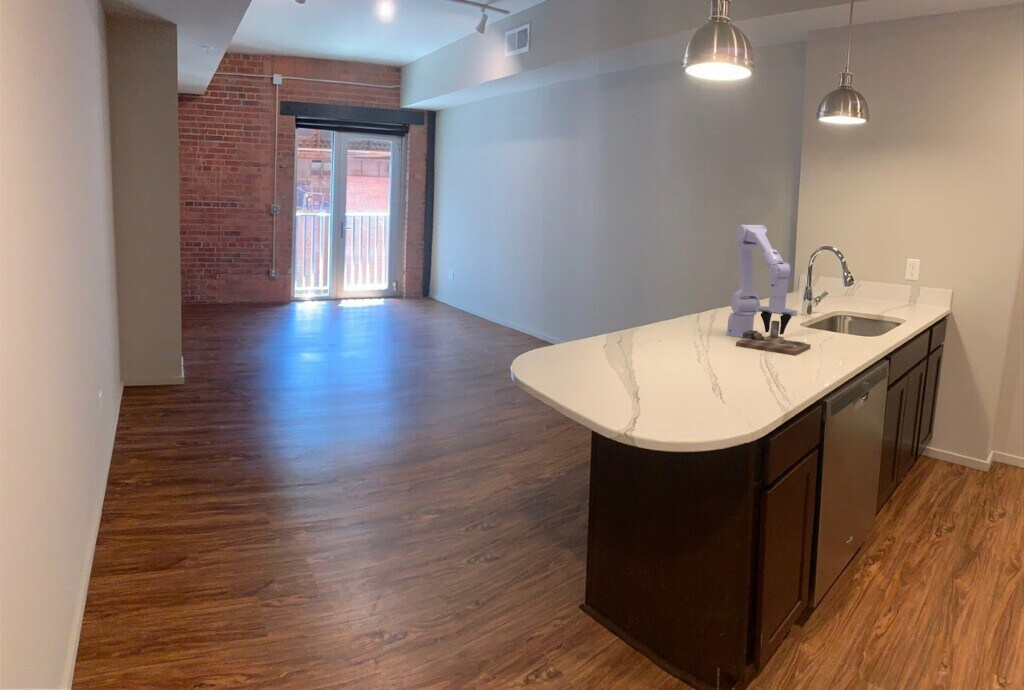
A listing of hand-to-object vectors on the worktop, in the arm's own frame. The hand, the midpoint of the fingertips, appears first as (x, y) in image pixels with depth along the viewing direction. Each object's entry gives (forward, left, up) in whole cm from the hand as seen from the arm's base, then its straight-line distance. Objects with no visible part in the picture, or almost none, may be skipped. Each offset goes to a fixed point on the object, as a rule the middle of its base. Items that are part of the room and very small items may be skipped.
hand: (774, 332), depth 267 cm
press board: (0, 0, -5) cm, 5 cm away
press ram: (0, 0, -4) cm, 4 cm away
